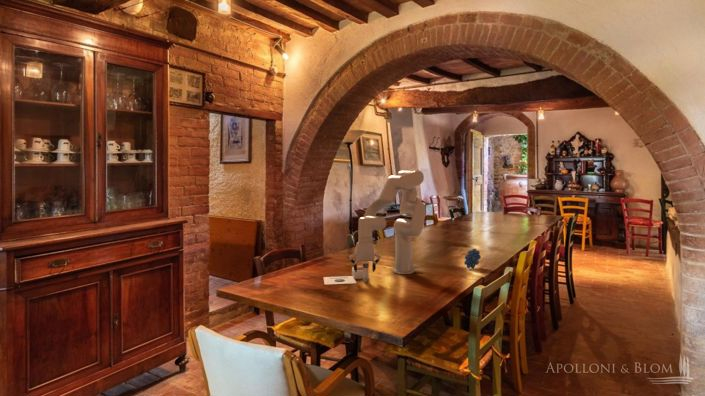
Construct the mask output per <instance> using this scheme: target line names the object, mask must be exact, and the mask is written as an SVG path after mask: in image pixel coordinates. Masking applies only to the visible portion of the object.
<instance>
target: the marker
mask: <svg viewBox="0 0 705 396" xmlns="http://www.w3.org/2000/svg"><path fill="white" fill-rule="evenodd" d="M369 265H370V264H369V263H368V262H364V263H362V266H363V279H362V282H363V283H369V281H370V280H369Z"/></svg>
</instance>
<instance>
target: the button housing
mask: <svg viewBox="0 0 705 396" xmlns="http://www.w3.org/2000/svg"><path fill="white" fill-rule="evenodd" d="M351 276H353V278H354V279H355V280H360V279H362V280H363V270H357V272H355V270H354V266H352V267H351Z"/></svg>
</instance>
